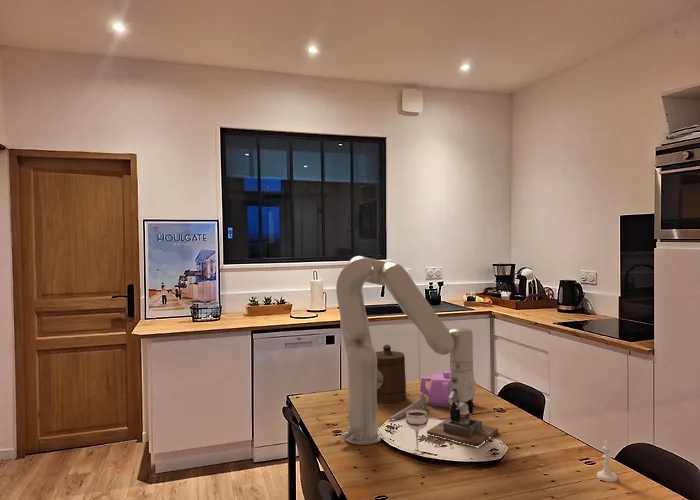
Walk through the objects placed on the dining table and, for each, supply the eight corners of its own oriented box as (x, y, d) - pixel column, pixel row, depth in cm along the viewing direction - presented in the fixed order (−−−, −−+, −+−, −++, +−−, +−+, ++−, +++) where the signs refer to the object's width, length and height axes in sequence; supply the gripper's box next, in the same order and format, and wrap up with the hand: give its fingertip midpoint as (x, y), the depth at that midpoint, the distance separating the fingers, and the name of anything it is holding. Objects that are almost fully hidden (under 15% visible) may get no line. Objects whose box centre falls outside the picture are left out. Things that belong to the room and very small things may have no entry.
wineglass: (431, 449, 156) (431, 411, 156) (423, 457, 150) (422, 417, 150) (411, 445, 160) (410, 407, 160) (402, 453, 154) (401, 414, 154)
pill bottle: (459, 432, 166) (458, 407, 165) (452, 427, 170) (452, 403, 170) (472, 431, 167) (471, 406, 167) (465, 426, 171) (464, 401, 171)
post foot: (478, 448, 157) (477, 435, 156) (427, 435, 168) (426, 423, 168) (498, 432, 169) (498, 420, 169) (449, 421, 180) (449, 410, 180)
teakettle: (417, 401, 205) (416, 370, 205) (448, 393, 214) (447, 364, 214) (446, 412, 191) (445, 380, 190) (478, 404, 200) (477, 373, 200)
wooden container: (366, 394, 216) (365, 342, 216) (400, 391, 219) (399, 340, 218) (374, 404, 201) (373, 349, 201) (410, 401, 204) (409, 347, 204)
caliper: (424, 409, 196) (424, 392, 196) (426, 409, 195) (426, 393, 195) (387, 422, 182) (387, 404, 182) (389, 422, 181) (389, 405, 181)
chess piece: (610, 473, 138) (610, 436, 138) (621, 481, 133) (620, 443, 133) (593, 473, 138) (592, 437, 138) (602, 482, 133) (602, 444, 133)
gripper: (460, 372, 159) (460, 426, 159) (482, 362, 173) (483, 412, 173) (438, 369, 164) (439, 421, 164) (462, 359, 177) (463, 407, 177)
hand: (461, 416), depth 168 cm, fingers open, 9 cm apart
